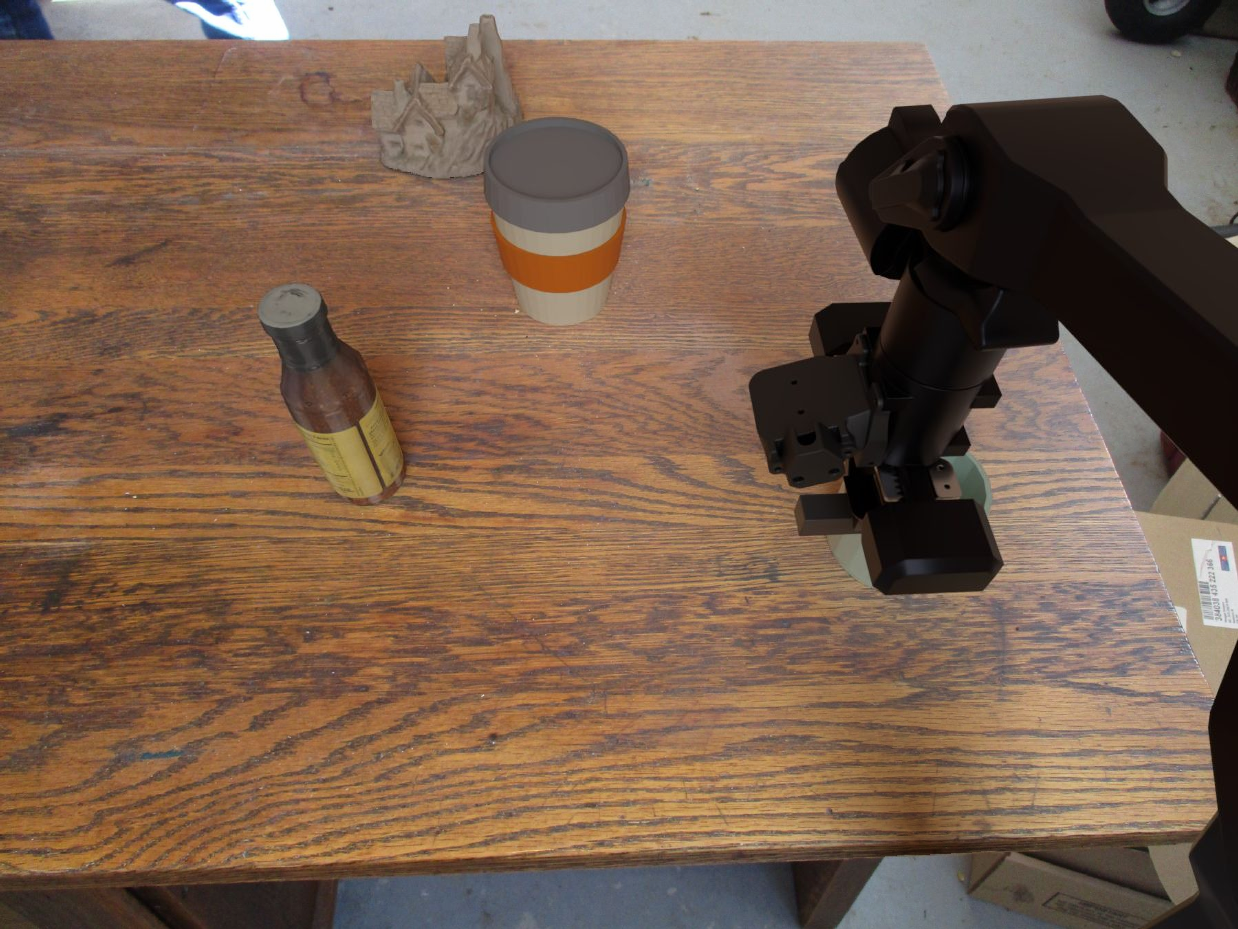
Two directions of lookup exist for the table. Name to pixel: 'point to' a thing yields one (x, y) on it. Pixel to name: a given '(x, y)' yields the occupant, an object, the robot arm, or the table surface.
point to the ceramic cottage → (448, 108)
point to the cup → (972, 487)
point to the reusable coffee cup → (558, 213)
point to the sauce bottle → (332, 397)
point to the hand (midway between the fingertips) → (856, 512)
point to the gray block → (824, 515)
